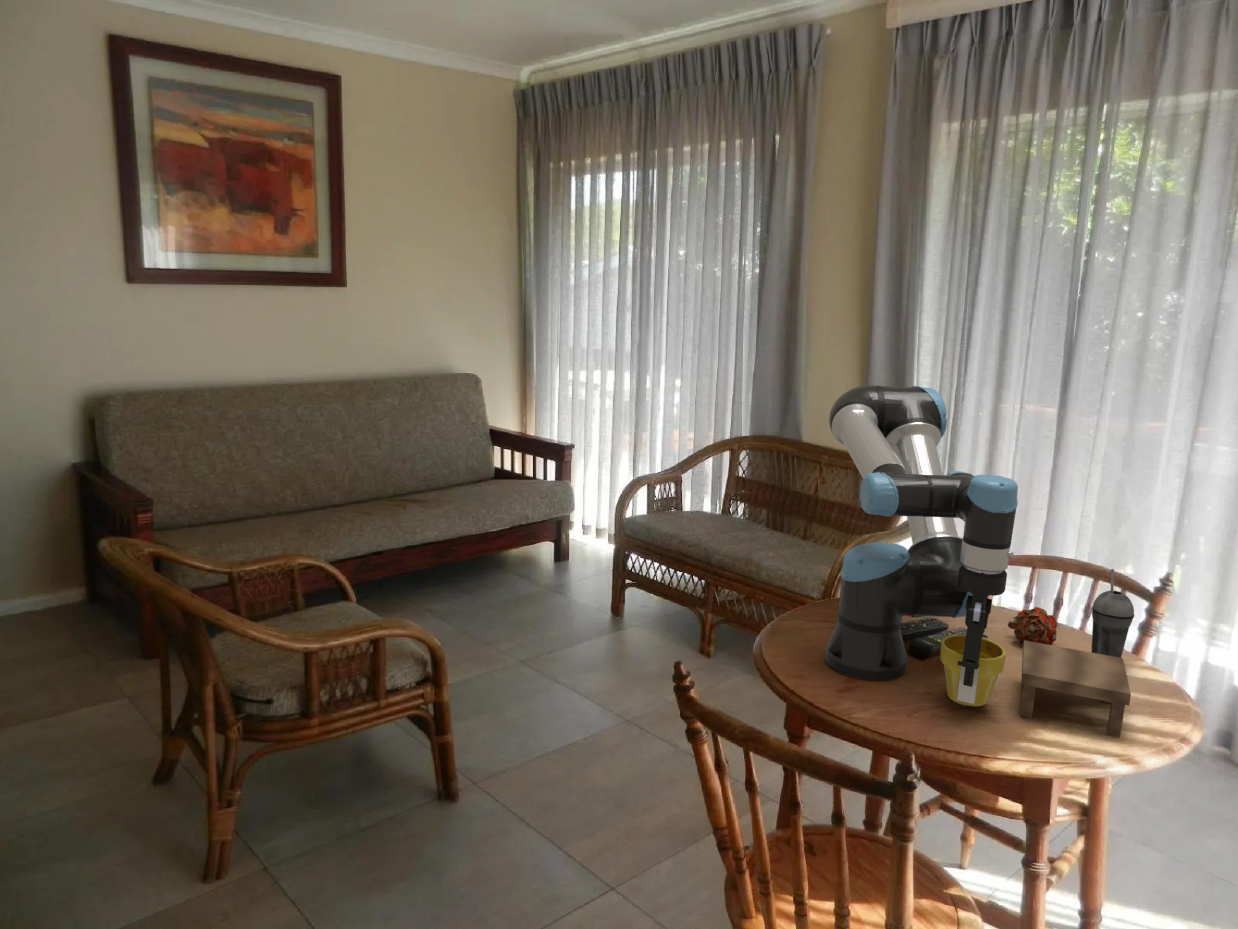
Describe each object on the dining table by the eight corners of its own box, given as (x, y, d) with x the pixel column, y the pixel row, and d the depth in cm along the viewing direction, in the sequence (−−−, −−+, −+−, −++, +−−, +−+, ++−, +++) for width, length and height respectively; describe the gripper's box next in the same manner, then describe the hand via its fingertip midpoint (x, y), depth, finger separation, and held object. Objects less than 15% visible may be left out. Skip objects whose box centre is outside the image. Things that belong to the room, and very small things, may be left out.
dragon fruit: (1036, 664, 175) (1019, 648, 187) (1075, 642, 173) (1056, 629, 185) (1012, 627, 175) (997, 614, 187) (1051, 606, 174) (1033, 594, 186)
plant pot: (942, 709, 148) (949, 655, 146) (930, 682, 158) (936, 631, 156) (1006, 715, 147) (1014, 661, 145) (989, 687, 157) (996, 636, 155)
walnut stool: (1016, 716, 149) (1022, 673, 148) (1018, 680, 163) (1024, 640, 162) (1123, 739, 142) (1131, 694, 141) (1116, 699, 157) (1122, 658, 155)
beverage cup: (1131, 677, 166) (1147, 577, 162) (1090, 673, 168) (1104, 573, 164) (1117, 662, 173) (1133, 565, 169) (1078, 657, 175) (1092, 562, 171)
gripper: (1005, 591, 136) (987, 722, 140) (1009, 552, 156) (994, 667, 161) (954, 583, 139) (938, 711, 144) (965, 546, 159) (951, 659, 164)
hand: (968, 688), depth 152 cm, fingers closed on plant pot, 10 cm apart
